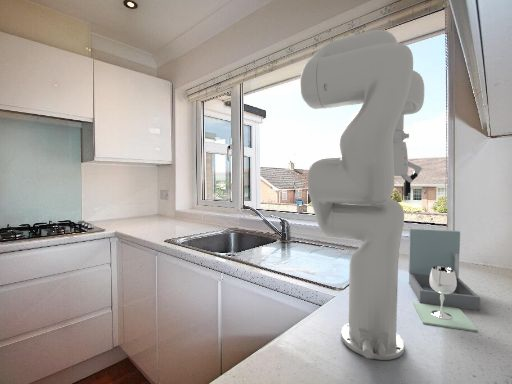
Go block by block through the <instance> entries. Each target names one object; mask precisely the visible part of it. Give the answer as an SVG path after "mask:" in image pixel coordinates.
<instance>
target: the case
mask: <svg viewBox="0 0 512 384" xmlns="http://www.w3.org/2000/svg"><path fill="white" fill-rule="evenodd" d="M460 242H461V231H460V230H446V229H430V228H429V229H427V228H425V229H424V228H411V227H410V228H409V241H408V244H409V245H408V274H409V275H408V284H409V286H410V288H411V289H412V291H413V293H414V295H415V297H416V298H417V300H418V301H419V302H418V303H421V304H429V305H436V306H441V301H440V295H441V294H440V293H437V292H436V291H434V290H429V289H423V288H422V287H430V288H431V286H430V283H429V277H430V273H431V269H432V267H434V266H442V267H447V268H451V269H453V270H454V272H455V276H456V281H457V286H456V290H455V291H457V292H458V293H455V292H453V293H452V294H447V295H444V298H445V299H444V302H443V306H444V307H452V308H459V309H467V310H474V311H475V310H476V311H480V305H481V304H480V302H481V301H480V299H481V298H480V296H479V295H478V294H477V293H475V292H474V290H472V289H471V287H470V286H468V285H467V284H466V283H464V281H463V280H461V279H460V278H459V276H460V275H459V274H460V250H461V249H460V248H461V247H460V246H461V245H460V244H461V243H460Z"/></svg>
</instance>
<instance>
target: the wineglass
mask: <svg viewBox="0 0 512 384" xmlns="http://www.w3.org/2000/svg"><path fill="white" fill-rule="evenodd" d="M429 283H430V286H431V287H430V286H429V287H430V288H431V289H432V291H436V292H437V293H440V294H441V295H440V301H441V305H440V306H441V309H440V311H438V310H434V311H432V312H431V314H432V315H434V316H435V317H438V318H441V319H447V320H448V319H452V316H451V315H450V314H448V313H446V312H444V311H443V302H444V299H445V298H444V295H447V294H452V293H455V291H457V290H456V286H457V281H456V276H455V272H454V270H453V269H451V268H447V267H442V266H434V267H432V269H431V273H430V277H429Z"/></svg>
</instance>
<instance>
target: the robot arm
mask: <svg viewBox="0 0 512 384" xmlns="http://www.w3.org/2000/svg"><path fill="white" fill-rule="evenodd" d="M424 83H425V82H424V80H423V77H422V76H421V73H419V72H418V71H416V70H414V56H413V53H412V50H411V49H410V47H409V46H407V45H406V44H403V43H398V41H397V39H396V37H395V35H394V34H393V33H392V32H390V31H388V30H384V29H375V30H368V31H365V32H361V33H357V34H354V35H350V36H346V37H342V38H339V39H335V40H332V41H329V42H328V43H326V44H324V45H323V46H322V47H321V48H319V49H318V50H317V51H316V52H315V53H314V54H313V55H312V56H311V57H310V58H309V59H308V61H306V63H305V64H304V66H303V68H302V70H301V75H300V78H299V90H300V95H301V98H302V100H303V102H304V103H305V105H307V106H308V107H309V108H311V109H313V110H325V109H332V108H339V107H346V106H354V105H355V106H356V105H360V104H361V106H360V107H359V109H358V110H357V111H356V112H355V113H354V114H353V115H352V116H351V118H349V120H348V121H347V122H346V125H345V126H344V127H343V129H342V131H341V133H340V136H339V137H338V141H339V142H338V143H339V150H340V154H341V155H329V156H322V157H318V158H316V159H314V161H313V162H312V163H311V164H310V166H309V168H308V173H307V188H308V190H307V191H308V194H309V195H308V196H309V199H310V202H311V206H312V209H313V212H314V215H315V218H316V219H315V220H316V222H317V225H318V229H319V230H320V232H321V233H322V234H323V235H324V236H327V237H330V238H338V239H345V240H353V241H354V240H355V241H360V242H362V244H361V245H360V246H359V247H358V248H357V249H356V250H355V251H354V252H353V253H352V254H351V256H350V260H349V273H348V274H349V279H348V280H349V283H348V285H349V286H348V323H347V324H345V325H344V326H343V327H342V328H341V333H340V336H341V341H342V342H343V344H345V345H346V346H347V348H348V349H350V350H351V351H353V352H354V353H357V354H359V355H360V356H362V357H364V358H366V359H371V360H372V359H373V360H382V361H389V360H395V359H397V358H399V357H401V356H402V355H403V354H404V352H405V347H406V346H405V341H404V339H403V338H402V337H401V336H400V335H399V334H398V333H397V326H398V325H397V322H398V321H397V320H398V319H397V318H398V317H397V316H398V285H399V283H398V280H399V277H398V276H399V275H398V274H399V258H400V257H399V256H400V255H399V254H400V245H401V239H402V234H403V229H404V224H405V210H404V208H403V206H402V205H401V204H400V203H399V202H398V201H397V200H395V199H393V198H391V196H392V195H393V192H394V188H395V177H402V179H403V180H404V182H403V189H402V190H403V196H405V197H408V196H409V194H410V193H411V185H412V184H411V183H412V182H413V181H414V180H415V179H416V178H417V177H418V176H419V174H420V173H421V171H422V167H421V166H419V165H417V164H415V163H413V162H410V161H409V159H408V158H409V157H408V147H407V143H406V141H404V140H406V139H409V138H410V134H409V133H406V132H405V130H404V127H405V126H404V125H405V123H404V122H405V121H404V120H405V115H413V114H416V113H418V112H419V111H421V110H422V108H423V106H424V103H425V84H424ZM409 168H410V169H412V170H414V171H413V173H412V174H411V175H408V173H409Z"/></svg>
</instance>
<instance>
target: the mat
mask: <svg viewBox="0 0 512 384" xmlns="http://www.w3.org/2000/svg"><path fill="white" fill-rule="evenodd" d="M412 306H414V308H415V310H416V313H417V314H418V316H419V318H420V321H421V322H422V324H424V325H431V326H436V327H442V328H449V329H451V328H452V329H456V330H463V331H468V332H477V333H478V328H476V326H475V325H474V324H473V323H472V322H471V321H470V319H469V318H468V317H467V316H466V315H465V313H464V312H463V311H462V310H461V308H458V307H450V306H443V311H444V312H446V313H448V314H450V315H451V316H452V319H448V320H447V319H441V318H438V317H435V316H434V315H432V314H431V312H432V311H434V310H438V311H440V309H441V305H435V304H427V303H420V302H413V303H412Z"/></svg>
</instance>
